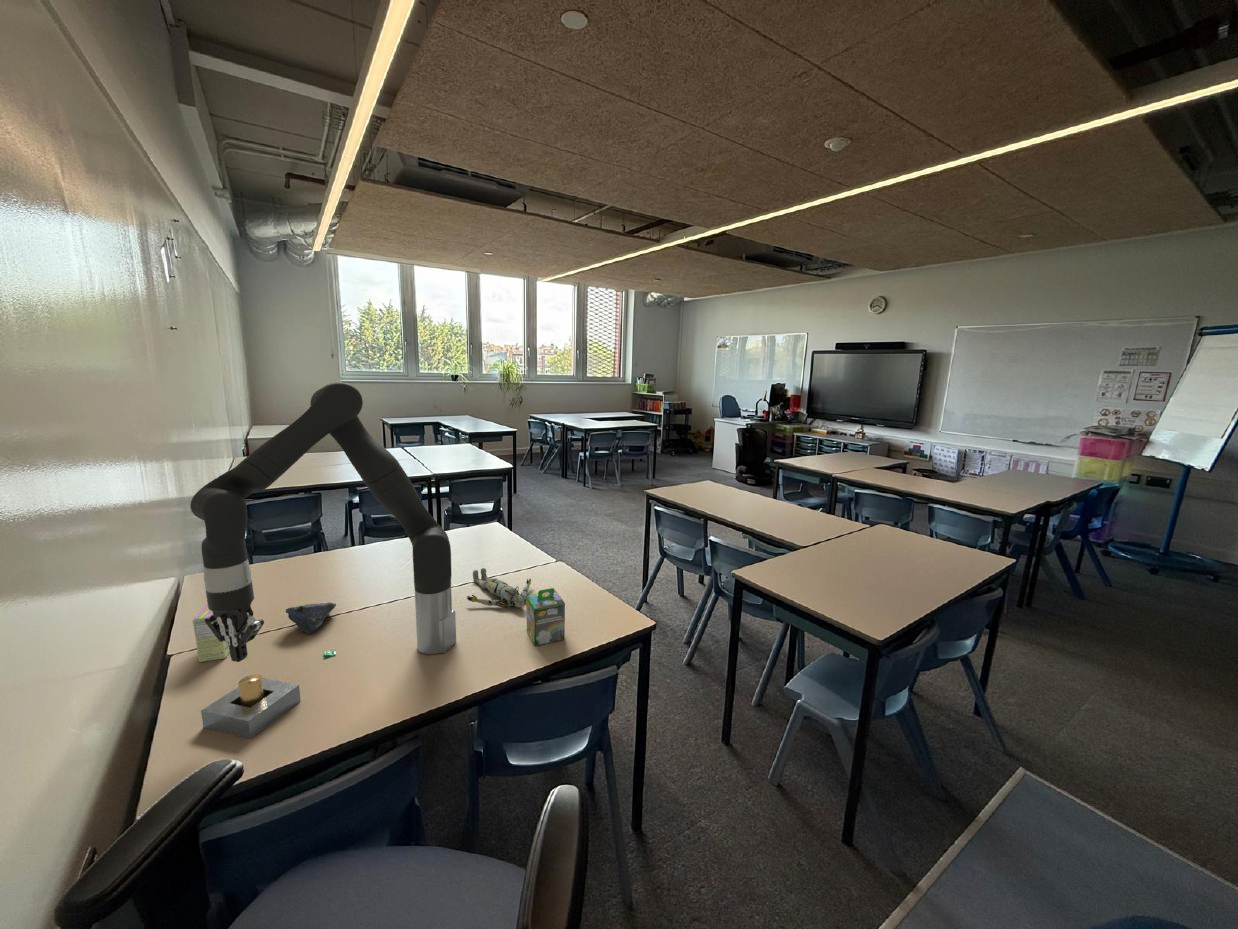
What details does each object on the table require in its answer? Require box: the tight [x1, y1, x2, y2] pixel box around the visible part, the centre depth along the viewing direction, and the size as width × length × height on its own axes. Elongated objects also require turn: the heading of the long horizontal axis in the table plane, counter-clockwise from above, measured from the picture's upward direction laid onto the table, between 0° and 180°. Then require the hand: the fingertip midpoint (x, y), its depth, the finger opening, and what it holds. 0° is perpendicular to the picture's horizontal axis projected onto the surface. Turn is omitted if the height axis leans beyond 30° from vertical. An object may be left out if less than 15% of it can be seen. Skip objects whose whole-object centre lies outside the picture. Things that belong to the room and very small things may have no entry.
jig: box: [200, 677, 301, 739], centre depth 105 cm, size 12×12×4 cm
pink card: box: [323, 649, 337, 659], centre depth 128 cm, size 3×3×1 cm
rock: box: [285, 601, 337, 635], centre depth 142 cm, size 16×8×10 cm
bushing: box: [238, 674, 264, 708], centre depth 105 cm, size 4×4×8 cm
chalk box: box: [525, 587, 566, 647], centre depth 139 cm, size 9×9×15 cm
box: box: [192, 604, 230, 663], centre depth 127 cm, size 10×6×12 cm, turn 21°
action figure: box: [466, 567, 532, 608], centre depth 164 cm, size 24×6×30 cm
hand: (239, 659), depth 103 cm, fingers closed
